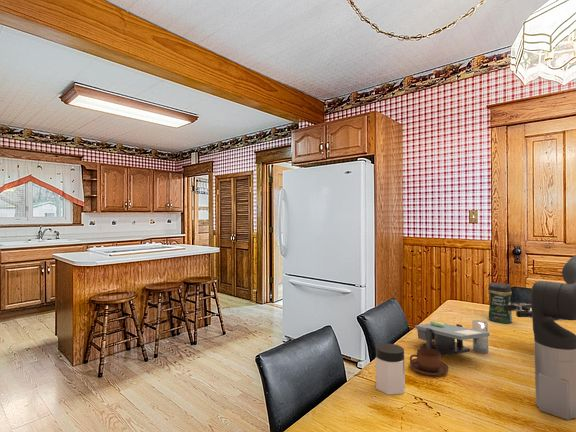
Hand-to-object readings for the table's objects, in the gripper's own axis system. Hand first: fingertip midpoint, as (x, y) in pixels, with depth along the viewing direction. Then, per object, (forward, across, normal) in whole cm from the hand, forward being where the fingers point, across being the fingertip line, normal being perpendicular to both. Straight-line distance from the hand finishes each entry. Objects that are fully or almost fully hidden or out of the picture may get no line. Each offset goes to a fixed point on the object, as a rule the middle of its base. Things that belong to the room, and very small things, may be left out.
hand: (509, 310), depth 129 cm
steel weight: (+11, 0, +15) cm, 19 cm away
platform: (+23, +2, +11) cm, 26 cm away
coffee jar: (-17, -38, +16) cm, 45 cm away
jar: (+52, +29, +15) cm, 62 cm away
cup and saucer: (+37, +17, +15) cm, 43 cm away
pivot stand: (+24, 0, +15) cm, 29 cm away
